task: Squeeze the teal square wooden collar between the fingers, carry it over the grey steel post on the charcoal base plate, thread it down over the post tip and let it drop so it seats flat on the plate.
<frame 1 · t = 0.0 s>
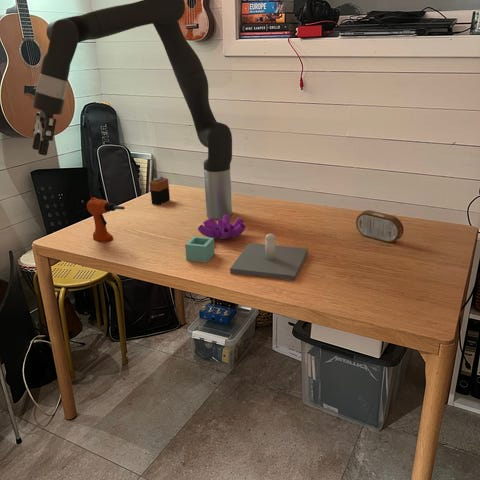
hand: (39, 152, 136), 31 cm above the table, fingers open, 8 cm apart
collar: (200, 256, 143), on the table
battery: (161, 202, 192), on the table
toy drill: (111, 241, 157), on the table
purple coral: (225, 237, 157), on the table
tin: (377, 239, 151), on the table
post plate: (270, 262, 138), on the table
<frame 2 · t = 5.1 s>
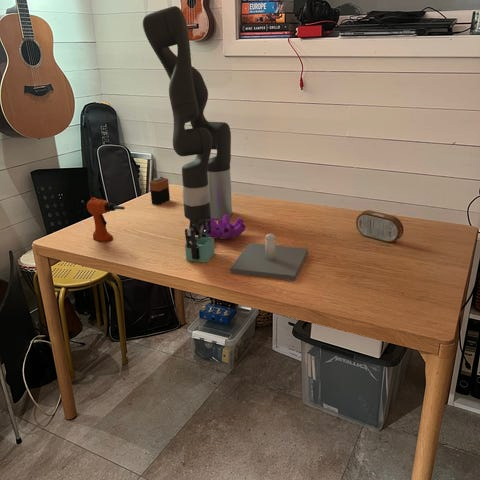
hand: (200, 254, 143), 1 cm above the table, fingers closed on collar, 6 cm apart
collar: (200, 256, 143), on the table, touching gripper
everything else where it was.
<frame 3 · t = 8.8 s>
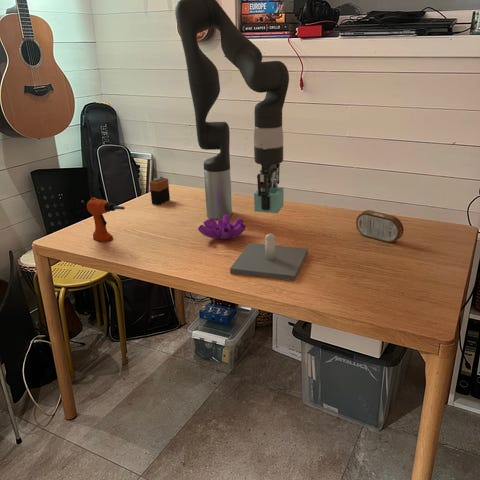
hand: (269, 205, 131), 17 cm above the table, fingers closed on collar, 6 cm apart
collar: (269, 208, 131), point 16 cm above the table, touching gripper
everything else where it was.
when the fingers open (4 cm above the table, at t = 12.6 s): collar drops 1 cm, resting on post plate.
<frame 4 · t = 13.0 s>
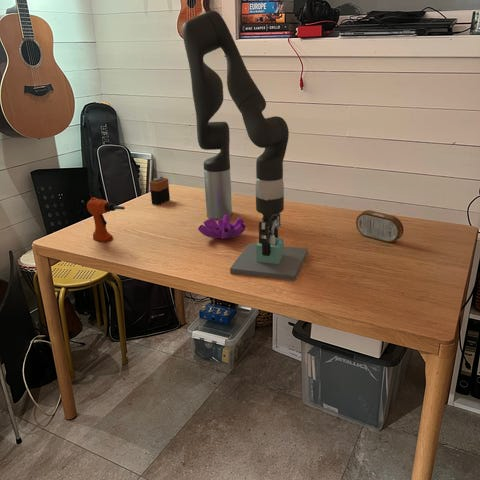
hand: (270, 249, 136), 4 cm above the table, fingers open, 8 cm apart
collar: (270, 258, 137), point 1 cm above the table, touching post plate
everything else where it was.
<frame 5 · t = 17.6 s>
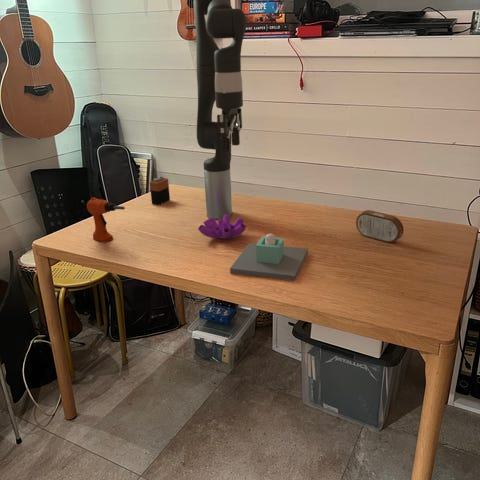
hand: (231, 148, 139), 30 cm above the table, fingers open, 8 cm apart
nothing on the table moved.
at the end: collar 0.0 cm off-centre on the post plate, point 1.5 cm above the post plate's base; collar tilted 0°; the gripper is holding nothing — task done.
